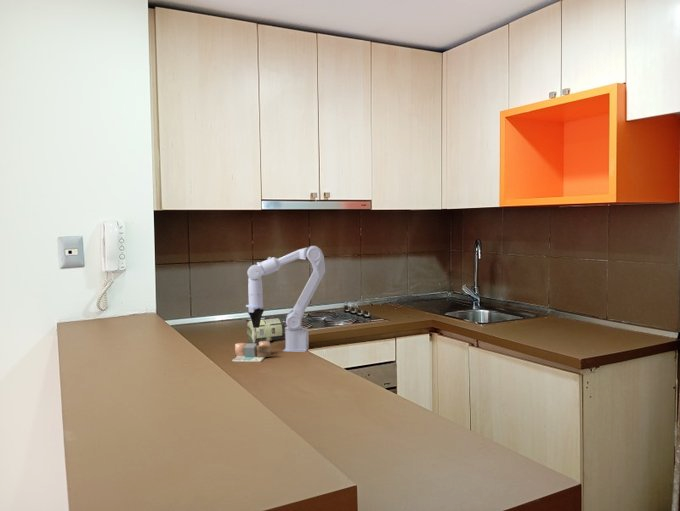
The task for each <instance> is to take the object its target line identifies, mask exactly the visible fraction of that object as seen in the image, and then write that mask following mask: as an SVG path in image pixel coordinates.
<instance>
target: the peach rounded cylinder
mask: <svg viewBox="0 0 680 511" xmlns="http://www.w3.org/2000/svg"><path fill="white" fill-rule="evenodd" d="M262 345H270V346H271V342H270V341H260V342H259V343H258V346H262Z"/></svg>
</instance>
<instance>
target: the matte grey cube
mask: <svg viewBox="0 0 680 511" xmlns="http://www.w3.org/2000/svg"><path fill="white" fill-rule="evenodd" d="M257 344H258V343H250V342H249V343H246V345H245V347H244V354H245V357H255V356H256V346H258V345H257Z"/></svg>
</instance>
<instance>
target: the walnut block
mask: <svg viewBox="0 0 680 511" xmlns="http://www.w3.org/2000/svg"><path fill="white" fill-rule="evenodd" d="M271 349H272V348H271V344H270V345H262V346H259V345H257V346H256V356H257V357H258V358H260V357H265V358H268V357H271V356H272V352H271Z"/></svg>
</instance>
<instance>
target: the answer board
mask: <svg viewBox="0 0 680 511" xmlns="http://www.w3.org/2000/svg"><path fill="white" fill-rule="evenodd" d="M265 358H266V357H260V358H258V357H257V356H255V357H245V356H242V357H238V356H235V358H233V359H232V360H231V361H232V362H238V363H239V362H242V363H243V362H246V363H249V362H250V363H252V362H253V363H257V362H258V363H261V362H262V361H263V360H264V359H265Z"/></svg>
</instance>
